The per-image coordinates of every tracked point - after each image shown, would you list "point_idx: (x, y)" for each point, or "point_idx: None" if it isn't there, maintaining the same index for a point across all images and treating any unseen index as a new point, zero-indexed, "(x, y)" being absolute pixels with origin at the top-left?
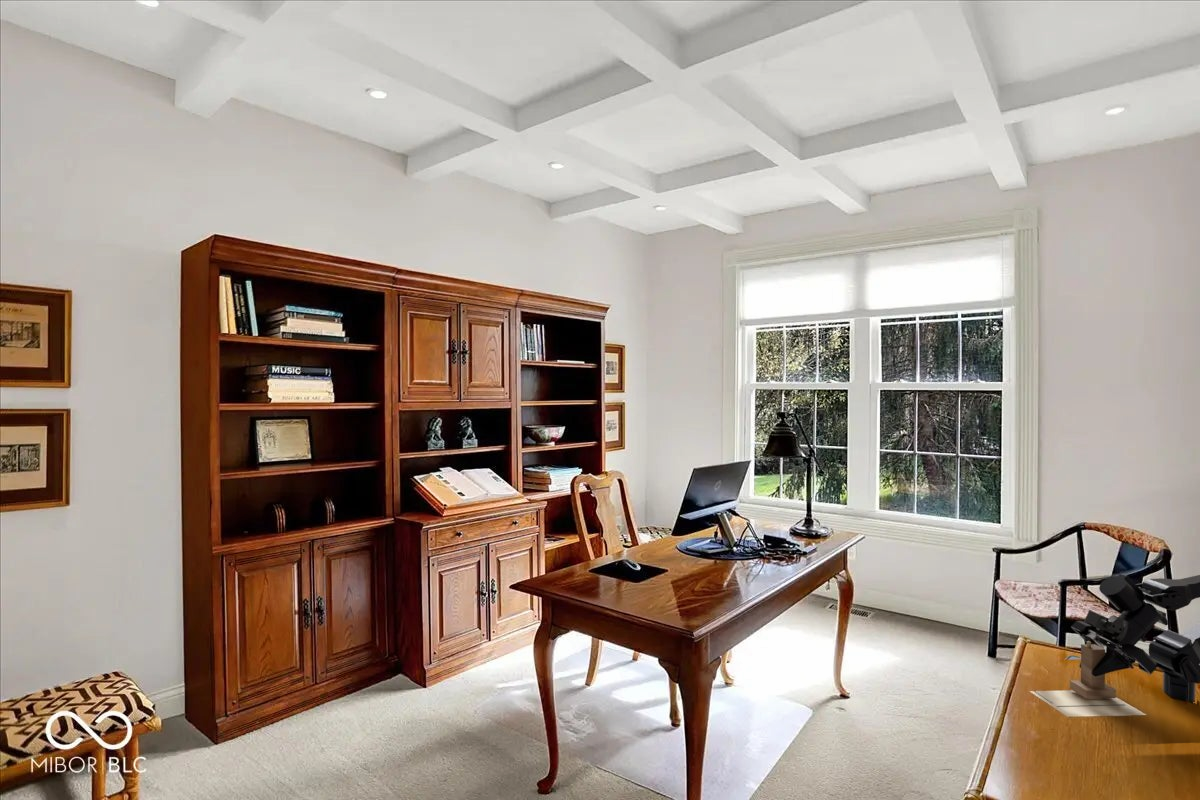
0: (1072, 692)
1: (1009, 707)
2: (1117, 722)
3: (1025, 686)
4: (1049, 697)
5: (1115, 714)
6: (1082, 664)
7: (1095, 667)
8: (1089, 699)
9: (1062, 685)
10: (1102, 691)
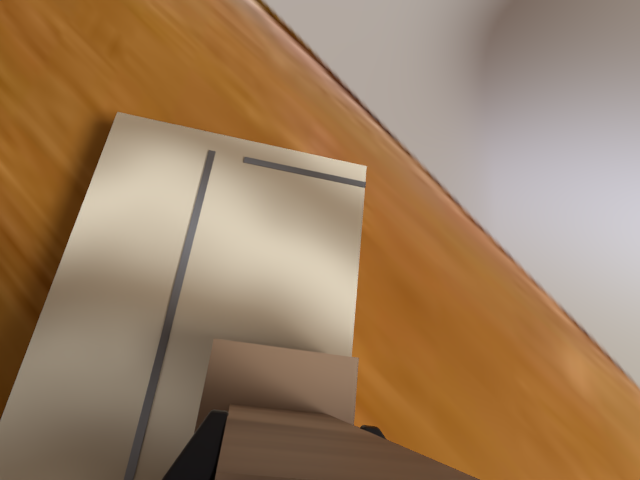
0: None
1: (297, 52)
2: None
3: (452, 249)
4: (297, 197)
5: (32, 372)
6: (351, 431)
7: (206, 465)
8: None
9: (456, 446)
10: None
